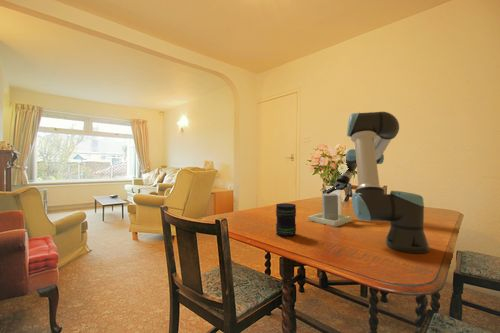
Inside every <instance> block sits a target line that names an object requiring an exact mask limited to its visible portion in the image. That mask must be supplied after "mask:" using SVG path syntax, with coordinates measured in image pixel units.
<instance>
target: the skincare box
mask: <svg viewBox="0 0 500 333" xmlns="http://www.w3.org/2000/svg"><path fill="white" fill-rule="evenodd" d="M338 199H339V195H338V194H336V193H330V194H323V193H322V194H321V200H322V201H321V203H322V204H321V209H322V212H321V213H323V219H327V220H332V221H335V220H338V215H339V202H338V201H339V200H338Z"/></svg>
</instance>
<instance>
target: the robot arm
mask: <svg viewBox="0 0 500 333" xmlns="http://www.w3.org/2000/svg"><path fill="white" fill-rule="evenodd" d="M399 130H400V123H399V120H398V119H397V117H396V115H395V116H394V115H393V114H392V113H390V112H388V111H371V112H356V113H355V112H353V113H351V114H350V115H349V118H348V123H347V131H346V136H347V137H350V140H351V141H352V142H353V143H354V149H353V148H352V149H351V148H350V149H348V150H347V151H346V153H345V156H346V163H347V166H348V168H349V169H348V170H347V171H346V172H345V173H342V174H341V175H340V176H339V175H338V177H337V179H336V182H335V184H334V186H333V187H332V188H330V189H328V190H326V189H325V188H323V189H322V191H321V192H322V194H332V193H333V192H334V191H344V193H345V195H344V196H343V198H342V201H341V203H340V204H341V206H342V207H345V205H346V202H348V201H349V199H350V198H351V205H352V209H353V210H352V211H353V213H354V215H355V217H356V219H358V220H360V221H367V222H371V221H372V222H387V223H390V226H389V227H390V228H389V230H388V233H387V235H386V238H385V245H386V246H387V247H388V248H390V249H393V250H396V251H400V252H403V253H409V254H426V253H429V251H430V245H429V242H428V239H427V237H426V234H425V232H424V230H425V229H424V228H425V227H424V223H425V222H424V220H425V219H424V215H425V211H424V210H425V205H424V197H423V196H422V195H420V194H416V193H411V192H405V191H399V190H391V191H390V193H385V190H384V187H382V186H381V185H380V180H379V170H378V165H382V164H383V163H384V160H385V157H384V153H385V151H386V149H387V148H388V146H389V144H390V143H391V141H392V140H393V139H395V137H396V136H397V135H398V133H399V132H400V131H399ZM356 164H357V167H356ZM351 171H354V172H355V171H356V174H357V188H356V189H355V190H354V193H353V189H352V188H353V185H352V183H350V182H351V180H352V178H353V175H354V173H353V174H351V173H350V172H351ZM347 187H348V191H347V189H346V188H347ZM335 188H336V189H335ZM321 202H322V199H321Z"/></svg>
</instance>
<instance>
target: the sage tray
mask: <svg viewBox="0 0 500 333" xmlns="http://www.w3.org/2000/svg"><path fill="white" fill-rule="evenodd" d="M308 220H310V221H314V222H313V223H315V222H318V223H317V224H319V223H322V224H321V225H324V224H326V225H325V226H329V225H330V226H329V227H333V226H334V228H335V227H339V226H342V225H345V223H346V224H349V223H351V222H352V217H351V216H348V215H343V214H342V215H341V214H338V220H335V221H332V220H327V219H323V212H321V213H316V214H312V215H308V217H307V221H308ZM310 221H309V222H310ZM348 222H349V223H348Z"/></svg>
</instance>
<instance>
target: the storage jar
mask: <svg viewBox="0 0 500 333" xmlns="http://www.w3.org/2000/svg"><path fill="white" fill-rule="evenodd" d="M296 206H297V205H296V204H294V203H287V202H286V203H285V202H283V203H276V204H275V207H276V209H275V216H276V223H275V225H276V227H275V231H276V233H275V234H276V236H277V235H278V236H277V237H279V236H280V237H279V238H283V237H292V238H295V237H297V235H296V234H297V227H296V226H297V224H296V216H297V208H296ZM294 236H295V237H294Z"/></svg>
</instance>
